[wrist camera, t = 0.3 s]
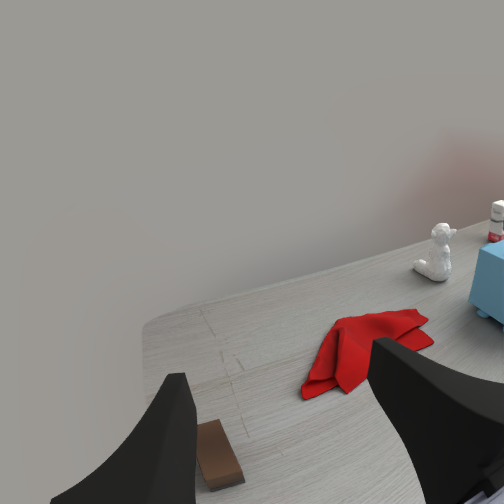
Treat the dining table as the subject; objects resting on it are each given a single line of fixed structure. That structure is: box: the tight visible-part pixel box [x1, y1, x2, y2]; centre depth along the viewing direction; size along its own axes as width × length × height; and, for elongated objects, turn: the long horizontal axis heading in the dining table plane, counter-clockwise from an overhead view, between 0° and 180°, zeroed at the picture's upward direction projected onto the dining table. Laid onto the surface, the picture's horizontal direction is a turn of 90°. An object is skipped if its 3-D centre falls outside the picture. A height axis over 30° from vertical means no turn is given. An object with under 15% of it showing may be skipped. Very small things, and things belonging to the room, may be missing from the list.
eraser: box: [196, 419, 245, 492], centre depth 25 cm, size 7×4×3 cm, turn 21°
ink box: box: [488, 200, 504, 242], centre depth 68 cm, size 8×5×12 cm, turn 110°
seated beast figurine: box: [413, 223, 456, 281], centre depth 54 cm, size 10×9×12 cm
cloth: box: [301, 309, 434, 400], centre depth 40 cm, size 26×14×2 cm, turn 110°
